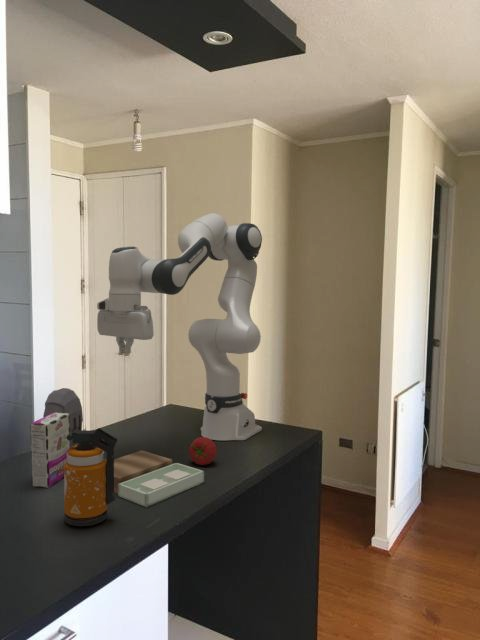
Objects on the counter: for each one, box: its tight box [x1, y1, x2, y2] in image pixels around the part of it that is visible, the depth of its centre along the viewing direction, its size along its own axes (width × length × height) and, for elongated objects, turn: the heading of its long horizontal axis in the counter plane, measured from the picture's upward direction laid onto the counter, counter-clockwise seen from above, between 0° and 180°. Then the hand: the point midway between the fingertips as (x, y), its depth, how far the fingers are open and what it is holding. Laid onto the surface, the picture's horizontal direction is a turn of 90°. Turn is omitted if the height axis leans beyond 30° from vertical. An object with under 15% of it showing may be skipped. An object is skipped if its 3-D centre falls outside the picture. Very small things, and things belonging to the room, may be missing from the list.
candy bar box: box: [29, 413, 70, 489], centre depth 141 cm, size 11×5×16 cm, turn 168°
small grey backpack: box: [42, 387, 84, 448], centre depth 160 cm, size 15×8×20 cm, turn 170°
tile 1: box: [140, 479, 169, 493], centre depth 132 cm, size 5×5×2 cm
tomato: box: [188, 436, 218, 466], centre depth 155 cm, size 8×8×8 cm
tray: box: [117, 462, 205, 508], centre depth 137 cm, size 20×10×3 cm, turn 142°
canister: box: [63, 427, 118, 527], centre depth 118 cm, size 9×11×20 cm
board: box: [114, 450, 173, 495], centre depth 143 cm, size 18×12×4 cm, turn 142°
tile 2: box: [163, 470, 191, 484], centre depth 139 cm, size 5×5×2 cm
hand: (124, 353), depth 155 cm, fingers closed
